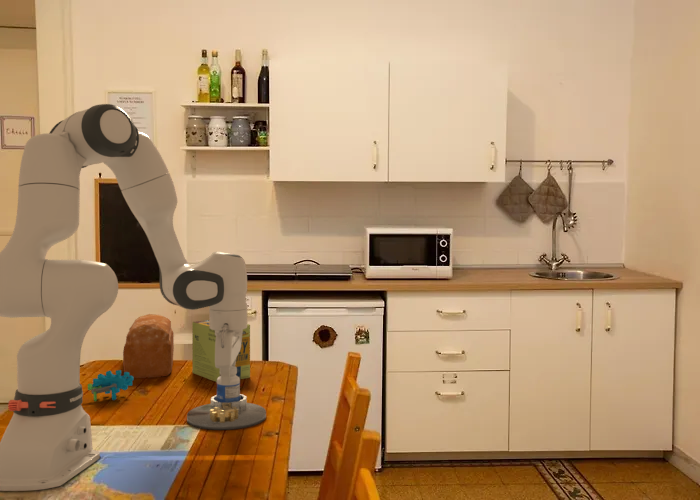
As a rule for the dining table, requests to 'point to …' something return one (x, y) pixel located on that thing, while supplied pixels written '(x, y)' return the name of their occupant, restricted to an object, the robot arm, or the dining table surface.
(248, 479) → the dining table surface
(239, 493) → the dining table surface
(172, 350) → the bread
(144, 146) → the robot arm
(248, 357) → the protein box
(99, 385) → the gear
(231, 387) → the pill bottle
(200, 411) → the carrier plate
